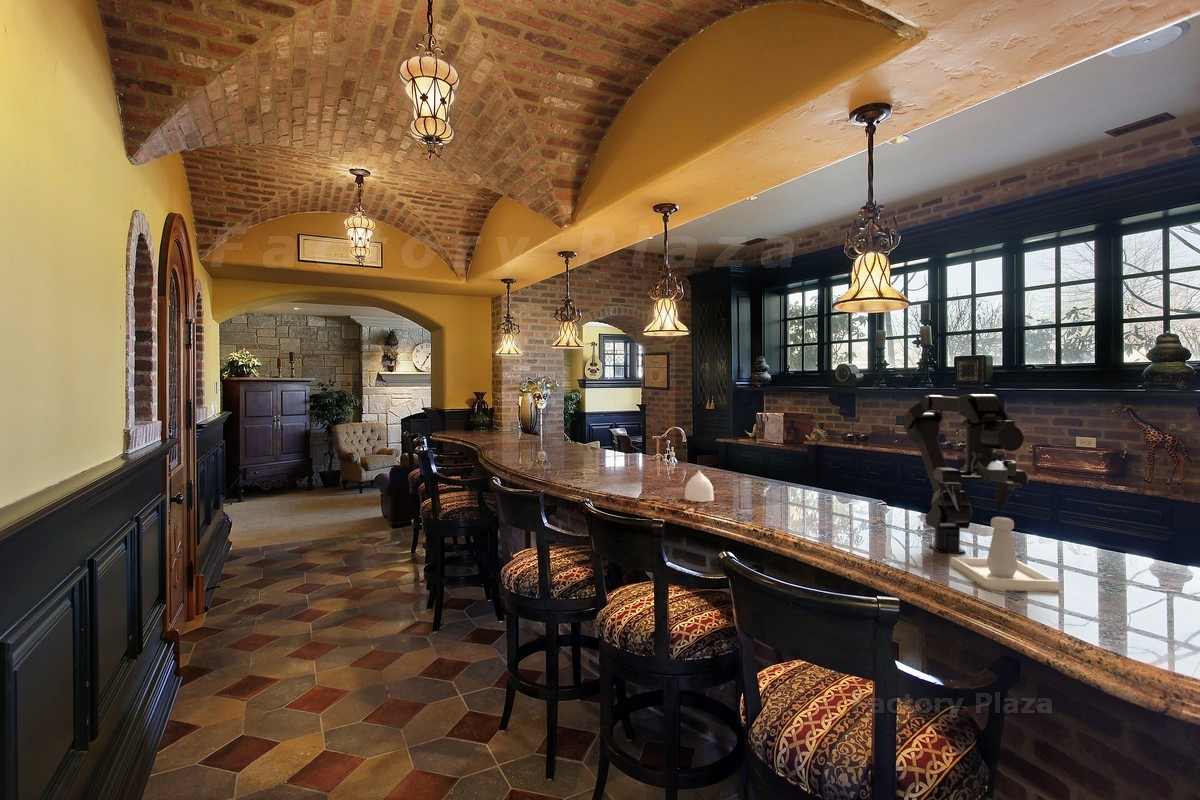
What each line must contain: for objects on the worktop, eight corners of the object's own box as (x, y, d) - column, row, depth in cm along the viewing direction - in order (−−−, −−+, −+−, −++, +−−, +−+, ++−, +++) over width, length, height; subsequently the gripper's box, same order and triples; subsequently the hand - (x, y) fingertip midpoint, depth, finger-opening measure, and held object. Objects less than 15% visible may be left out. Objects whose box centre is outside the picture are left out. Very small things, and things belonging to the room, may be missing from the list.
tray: (951, 566, 139) (951, 556, 139) (1014, 568, 137) (1015, 558, 137) (986, 589, 123) (986, 579, 123) (1058, 592, 121) (1059, 581, 121)
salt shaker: (987, 569, 134) (988, 513, 134) (1018, 574, 131) (1018, 517, 130) (985, 576, 130) (985, 518, 129) (1016, 581, 126) (1017, 522, 126)
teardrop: (683, 497, 227) (683, 466, 226) (711, 497, 226) (711, 466, 226) (686, 503, 216) (686, 471, 215) (716, 503, 215) (716, 470, 215)
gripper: (953, 449, 132) (953, 517, 133) (1043, 450, 130) (1042, 519, 130) (932, 444, 143) (932, 507, 144) (1014, 445, 141) (1014, 509, 141)
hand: (979, 511), depth 140 cm, fingers open, 9 cm apart
